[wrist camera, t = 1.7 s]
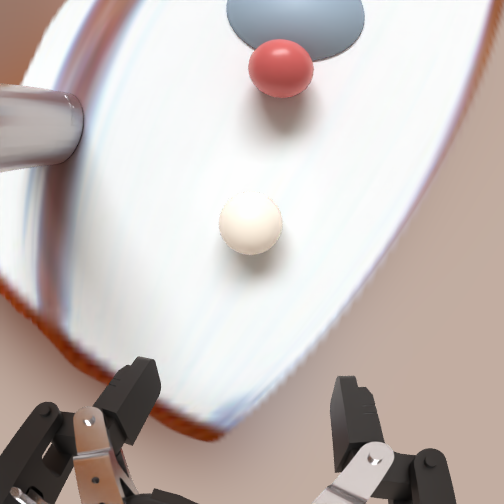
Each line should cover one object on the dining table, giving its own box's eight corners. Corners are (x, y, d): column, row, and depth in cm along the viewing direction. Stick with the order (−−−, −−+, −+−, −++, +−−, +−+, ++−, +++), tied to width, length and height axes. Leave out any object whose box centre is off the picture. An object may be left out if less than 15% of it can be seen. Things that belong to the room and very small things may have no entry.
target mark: (253, 77, 23) (253, 77, 23) (210, -18, 20) (210, -19, 20) (385, 47, 20) (386, 46, 20) (329, -44, 17) (329, -45, 17)
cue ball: (237, 251, 29) (226, 271, 24) (218, 199, 27) (201, 209, 22) (290, 235, 28) (290, 253, 23) (272, 180, 26) (268, 185, 21)
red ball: (263, 110, 24) (258, 98, 19) (244, 62, 23) (234, 41, 18) (319, 94, 23) (327, 78, 18) (298, 46, 22) (300, 22, 17)
